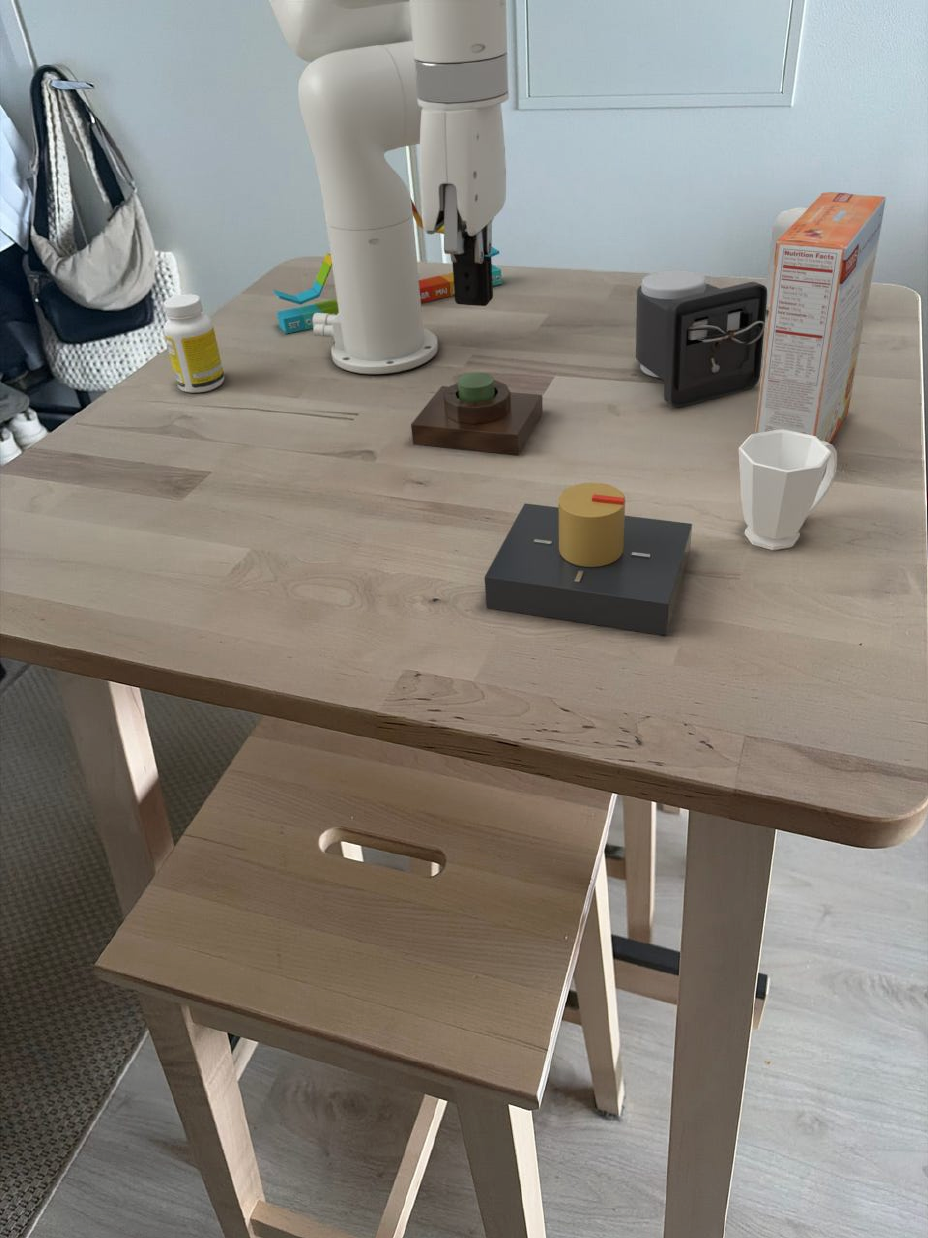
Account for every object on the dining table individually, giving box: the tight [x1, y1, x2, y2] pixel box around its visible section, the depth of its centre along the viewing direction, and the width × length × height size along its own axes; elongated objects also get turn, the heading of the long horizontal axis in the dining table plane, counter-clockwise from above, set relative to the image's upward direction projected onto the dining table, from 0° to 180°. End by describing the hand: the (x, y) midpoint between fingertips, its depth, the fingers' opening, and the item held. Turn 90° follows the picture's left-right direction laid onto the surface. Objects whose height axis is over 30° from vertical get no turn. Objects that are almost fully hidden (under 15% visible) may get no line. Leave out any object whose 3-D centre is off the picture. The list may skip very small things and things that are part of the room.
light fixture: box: [635, 269, 767, 409], centre depth 105 cm, size 11×13×11 cm
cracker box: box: [754, 191, 887, 444], centre depth 89 cm, size 14×6×21 cm, turn 150°
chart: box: [272, 198, 502, 335], centre depth 126 cm, size 30×3×15 cm, turn 115°
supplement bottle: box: [162, 293, 225, 394], centre depth 112 cm, size 5×5×10 cm
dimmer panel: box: [484, 503, 693, 636], centre depth 79 cm, size 14×11×3 cm
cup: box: [738, 429, 838, 551], centre depth 81 cm, size 7×10×8 cm
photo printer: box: [764, 206, 810, 312], centre depth 115 cm, size 10×4×12 cm, turn 32°
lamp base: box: [410, 379, 544, 456], centre depth 100 cm, size 11×9×4 cm
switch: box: [457, 371, 495, 402], centre depth 99 cm, size 4×4×2 cm
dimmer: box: [558, 482, 626, 567], centre depth 76 cm, size 5×5×5 cm
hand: (474, 301), depth 92 cm, fingers closed
